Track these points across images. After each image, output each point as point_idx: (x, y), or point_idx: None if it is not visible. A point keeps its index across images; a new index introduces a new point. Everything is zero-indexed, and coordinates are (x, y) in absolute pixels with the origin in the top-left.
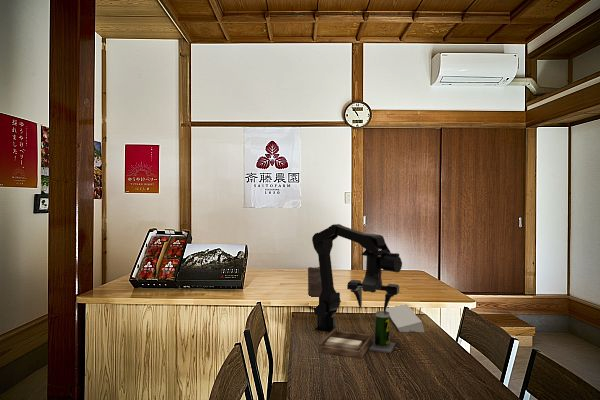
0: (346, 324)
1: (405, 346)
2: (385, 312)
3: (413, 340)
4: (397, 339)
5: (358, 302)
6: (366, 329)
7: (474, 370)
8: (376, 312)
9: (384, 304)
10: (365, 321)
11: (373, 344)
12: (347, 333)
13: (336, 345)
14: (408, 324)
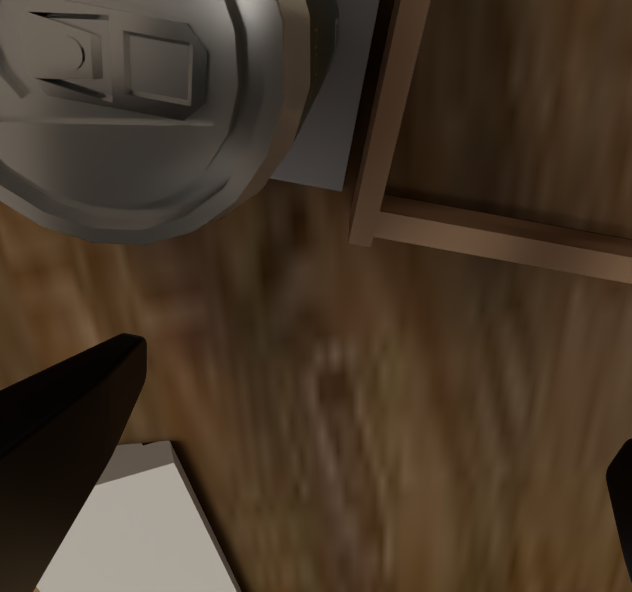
0: (557, 525)
1: None
2: (23, 120)
3: (33, 287)
4: (157, 286)
5: None
6: (412, 455)
7: None
8: (263, 33)
9: (37, 423)
10: (413, 579)
11: (355, 45)
12: (630, 255)
13: None
14: (91, 496)
